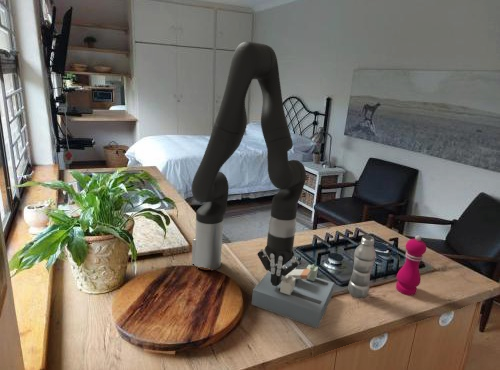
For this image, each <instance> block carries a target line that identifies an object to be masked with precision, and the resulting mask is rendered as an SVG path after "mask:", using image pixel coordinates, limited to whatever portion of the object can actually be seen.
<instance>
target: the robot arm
mask: <svg viewBox="0 0 500 370" xmlns="http://www.w3.org/2000/svg"><path fill="white" fill-rule="evenodd" d="M277 58H278V57H277V55H276V52H275V50H274V49H273V48H272V47H271V46H270V45H267V44H264V43H260V42H254V41H243V42H241V43H239V44H238V46H237V47H236V49H235V50H234V52H233V55H232V57H231V61H230V67H229V71H228V76H227V80H226V84H225V89H224V93H223V96H222V99H221V103H220V106H219V108H218V109H219V110H218V112H217V116H216V118H215V121H214V123H213V125H212V126H213V127H212V129H211V130H212V131H211V133H210V136H209V140H208V143H207V146H206V148H205V151H204V154H203V157H202V159H201V161H200V163H199V165H198V168H197V170H196V173H195V174H194V177H193V179H192V183H191V194H192V196H193V199H194V200H195V201H196V202H199V203H203V204H202V205H201V206H200V207H199V208H198V209H196V213H195V232H194V233H195V236H194V238H193V239H192V244H191V245H192V247H191V248H192V249H191V250H192V251H191V264H192V265H193V264H194V265H193V266H194V267H195V266H198V267H204V268H210V269H214V270H218V269H219V268H220V267H221V265H222V251H223V250H222V247H223V232H224V217H225V214H226V212H227V207H228V199H229V198H228V197H229V189H230V187H229V180H228V178H227V177H226V176H227V175H225V174H224V172H221V171H220V170H221V168H222V167H223V166H224V164H226V163H227V162H228V161H229V159H230V158H231V157H232V156H233V154H234V153H235V152H236V151H237V149H238V148H239V147H240V145H241V142H242V140H243V138H244V135H245V133H246V129H247V125H248V115H247V111H246V110H247V109H246V98H247V94H248V91H249V87H250V86H251V83H252V81H253V80H257V82H258V85H259V87H260V90H261V96H262V106H261V109H262V110H261V115H260V126H261V132H262V135H263V138H264V139H263V140H264V143H265V146H266V149H267V174H268V177H269V180H270V182H271V184H272V185H273V186H274V187H275V188H277V189H278V190H279V192H277V193H276V194H275V195H274V196H273V197H272V201H271V206H270V207H271V209H270V217H269V220H268V229H267V238H266V245H265V248H264V249H263V248H262V249H260V250H259V251H258V252H257V256H258V258H259V260H260V262H261V264H262V265H263V267H264V269H265V270H266V271H267V272H269V271H270V272H271V283H272V285H273V286H276V287H277V286H278V285H279V284H280V283H281V279H282V275H283V276H286V275H287V274H289V273H290V272H291V271H292V270H294V269H296V268H298V266H299V265H300V263H301V261H300V260H299V259H296V257H295V253H294V242H295V236H296V230H297V229H296V226H297V210H298V204H299V203H298V202H299V200H300V198H301V196H302V193H303V189H304V187H305V183H306V179H307V174H306V173H307V172H306V168H305V165H304V164H303V162H301V161H299V160H298V159H297V160H296V159H291V160H290V159H289V157H288V155H289V154H288V152H289V151H290V150H292V148H293V144H294V143H293V139H292V136H291V132H290V129H289V125H288V122H287V117H286V114H285V109H284V103H283V95H282V87H281V80H280V70H279V69H280V68H279V65H278V59H277ZM288 262H289V264H290V265H289V266H286V269H284V265H285V264H286V265H287V263H288ZM214 270H213V271H214Z"/></svg>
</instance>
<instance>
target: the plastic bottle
mask: <svg viewBox="0 0 500 370" xmlns="http://www.w3.org/2000/svg"><path fill="white" fill-rule="evenodd" d="M374 245H375V238H374V237H373V236H370V235H362V237H361V240H360V244H359V245H358V246H357V247H356V248H355V250H354V258H353V259H354V260H353V261H354V262H353V269H352V274H351V277H350V279H349V281H348V285H347V286H348V287H347V288H348V293H349V295H351V297H353V298H356V299H365V298H366V297H367V296H368V294H369V293H370V279H371V273H372V269H373V265H374V263H375V260H376V257H377V254H376V250H375V248H374Z"/></svg>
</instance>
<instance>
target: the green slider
mask: <svg viewBox="0 0 500 370" xmlns="http://www.w3.org/2000/svg"><path fill="white" fill-rule="evenodd" d="M305 269H311V275H310V276H309V278H308V279H309V280H312V281H315V279H316V277H317V278H318V276H317V275H318V270H319V267H318V266H315V264H314V263H313V264H308V265H307V266H306V268H305Z"/></svg>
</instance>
